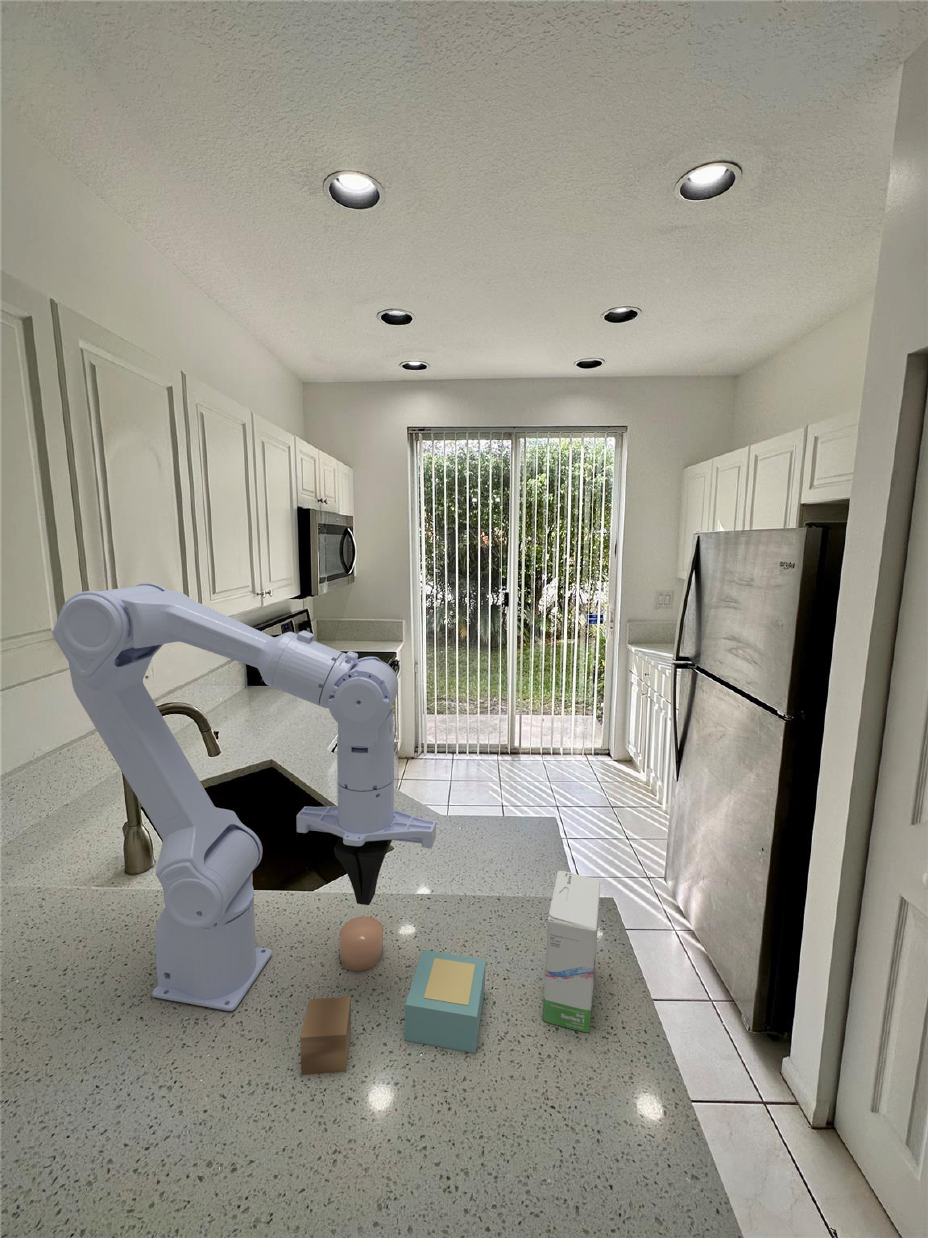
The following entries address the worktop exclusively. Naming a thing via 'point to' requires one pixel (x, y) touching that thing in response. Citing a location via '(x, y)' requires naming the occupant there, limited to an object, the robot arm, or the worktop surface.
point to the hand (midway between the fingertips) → (366, 898)
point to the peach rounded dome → (361, 943)
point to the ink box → (571, 951)
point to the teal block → (446, 1001)
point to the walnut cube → (326, 1036)
